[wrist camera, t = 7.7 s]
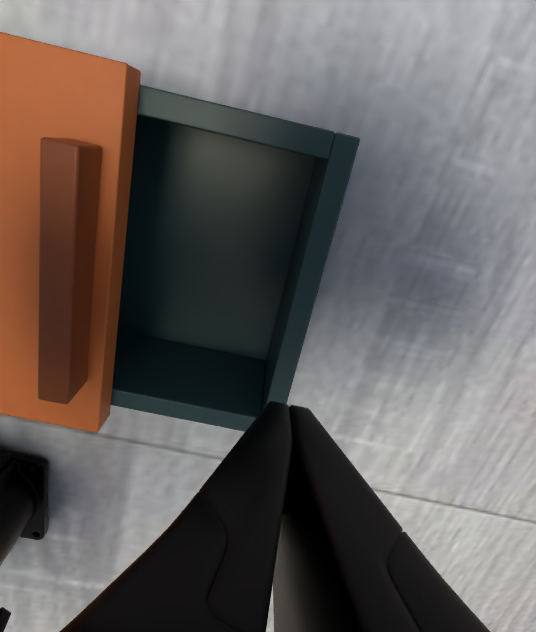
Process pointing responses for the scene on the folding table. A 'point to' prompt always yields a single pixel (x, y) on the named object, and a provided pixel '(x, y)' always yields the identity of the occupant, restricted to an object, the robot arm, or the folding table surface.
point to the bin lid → (62, 228)
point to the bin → (222, 256)
